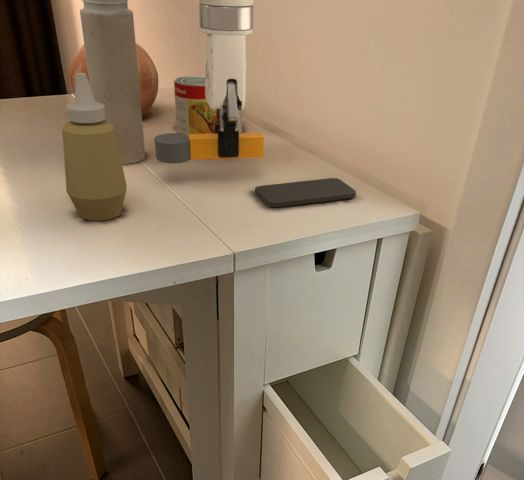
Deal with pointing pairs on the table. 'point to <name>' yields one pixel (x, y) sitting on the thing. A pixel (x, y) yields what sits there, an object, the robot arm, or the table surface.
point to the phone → (304, 192)
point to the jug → (145, 74)
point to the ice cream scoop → (203, 147)
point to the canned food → (192, 106)
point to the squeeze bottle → (92, 157)
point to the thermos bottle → (115, 71)
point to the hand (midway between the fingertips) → (226, 152)
